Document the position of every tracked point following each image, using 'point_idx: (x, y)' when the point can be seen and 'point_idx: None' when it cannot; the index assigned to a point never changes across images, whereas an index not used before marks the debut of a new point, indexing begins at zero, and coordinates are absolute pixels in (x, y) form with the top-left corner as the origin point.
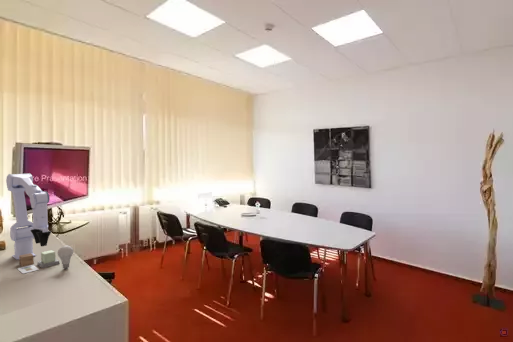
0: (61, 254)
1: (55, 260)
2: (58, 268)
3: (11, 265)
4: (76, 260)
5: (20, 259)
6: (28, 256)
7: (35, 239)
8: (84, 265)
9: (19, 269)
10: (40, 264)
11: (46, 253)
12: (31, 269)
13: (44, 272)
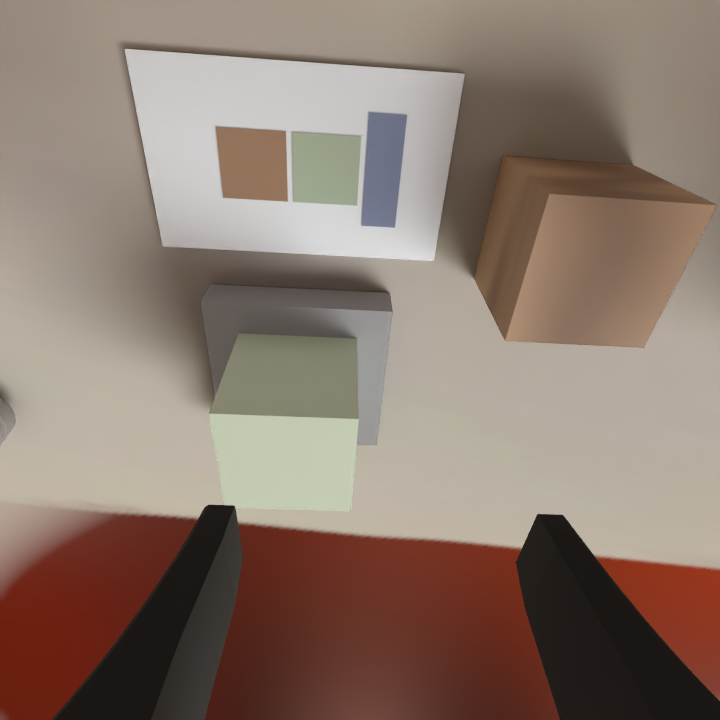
0: None
1: None
2: (66, 369)
3: (716, 72)
4: None
5: (610, 184)
6: (519, 282)
7: (582, 599)
8: (9, 497)
9: (376, 82)
10: (266, 301)
11: (227, 440)
12: (231, 188)
13: (6, 248)
